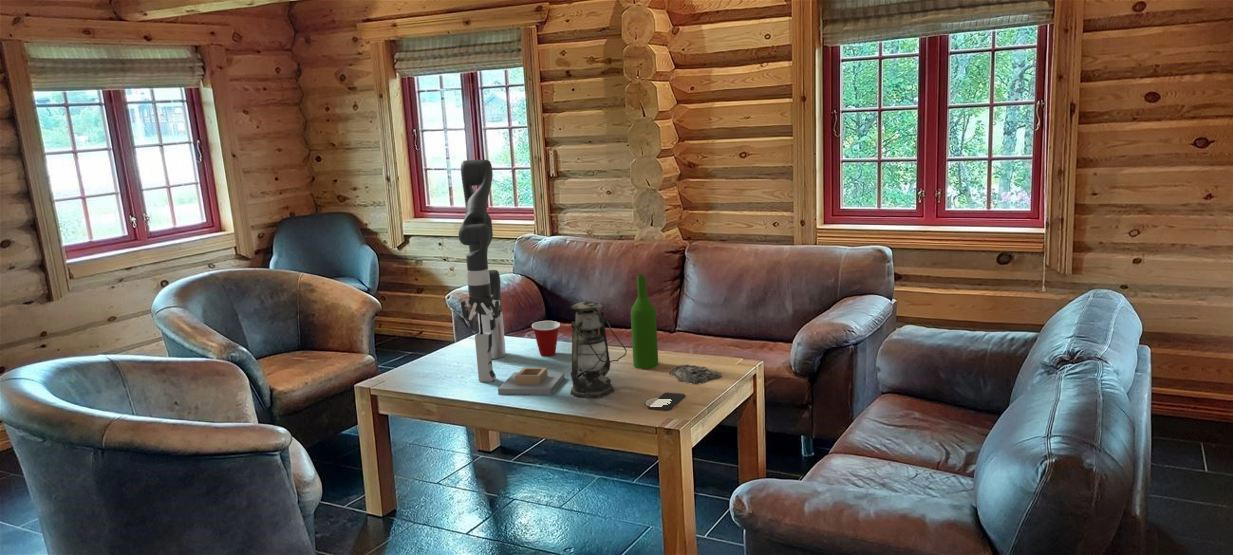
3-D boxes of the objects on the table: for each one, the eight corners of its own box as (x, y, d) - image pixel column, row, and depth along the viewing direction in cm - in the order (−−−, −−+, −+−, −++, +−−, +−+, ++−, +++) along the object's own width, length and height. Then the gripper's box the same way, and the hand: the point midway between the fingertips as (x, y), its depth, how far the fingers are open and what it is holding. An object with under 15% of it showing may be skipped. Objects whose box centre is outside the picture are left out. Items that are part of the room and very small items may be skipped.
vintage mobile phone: (492, 382, 307) (486, 311, 303) (478, 381, 308) (472, 311, 304) (496, 378, 311) (490, 309, 306) (482, 378, 312) (476, 309, 307)
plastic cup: (540, 360, 331) (538, 329, 328) (529, 354, 340) (527, 323, 338) (567, 355, 335) (564, 324, 333) (555, 349, 345) (553, 319, 343)
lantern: (594, 380, 303) (588, 294, 297) (638, 388, 291) (633, 299, 285) (556, 395, 289) (550, 305, 283) (601, 405, 277) (595, 311, 271)
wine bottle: (663, 364, 317) (659, 274, 311) (648, 370, 310) (643, 279, 304) (643, 360, 322) (639, 272, 316) (628, 366, 316) (623, 277, 310)
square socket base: (514, 377, 311) (513, 363, 310) (564, 377, 307) (563, 364, 306) (498, 394, 293) (497, 379, 292) (551, 394, 290) (549, 380, 289)
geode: (708, 387, 289) (727, 374, 302) (707, 376, 289) (726, 363, 301) (657, 381, 299) (677, 369, 312) (656, 370, 299) (677, 358, 311)
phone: (646, 407, 271) (664, 392, 284) (646, 410, 271) (664, 394, 284) (669, 410, 268) (686, 393, 281) (669, 412, 268) (686, 396, 281)
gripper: (502, 279, 305) (506, 327, 308) (462, 280, 308) (467, 327, 311) (495, 284, 298) (499, 332, 301) (454, 284, 301) (459, 332, 304)
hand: (483, 329), depth 306 cm, fingers open, 6 cm apart
